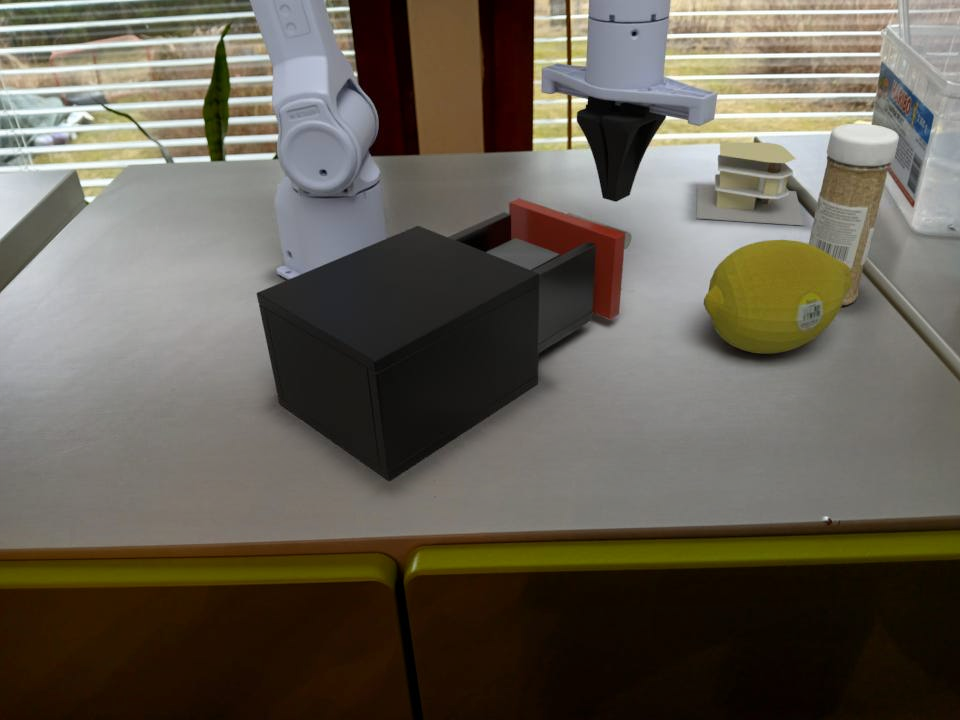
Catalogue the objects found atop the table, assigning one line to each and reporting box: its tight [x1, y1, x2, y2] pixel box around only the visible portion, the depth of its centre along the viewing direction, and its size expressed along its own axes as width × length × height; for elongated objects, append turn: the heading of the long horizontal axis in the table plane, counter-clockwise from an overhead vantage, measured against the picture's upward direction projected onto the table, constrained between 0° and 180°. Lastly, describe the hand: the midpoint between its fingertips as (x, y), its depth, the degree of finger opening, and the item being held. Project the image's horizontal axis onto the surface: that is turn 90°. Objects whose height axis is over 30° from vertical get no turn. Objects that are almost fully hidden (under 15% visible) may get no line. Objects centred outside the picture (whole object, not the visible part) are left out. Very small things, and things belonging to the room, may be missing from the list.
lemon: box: [703, 239, 852, 355], centre depth 56 cm, size 11×8×8 cm
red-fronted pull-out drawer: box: [447, 197, 632, 354], centre depth 60 cm, size 17×10×7 cm, turn 136°
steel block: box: [486, 238, 560, 270], centre depth 59 cm, size 4×4×4 cm
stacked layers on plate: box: [696, 142, 805, 226], centre depth 79 cm, size 10×9×6 cm
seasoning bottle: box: [808, 123, 900, 306], centre depth 61 cm, size 5×5×13 cm
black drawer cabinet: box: [256, 225, 540, 482], centre depth 52 cm, size 14×12×9 cm
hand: (616, 196), depth 64 cm, fingers closed
